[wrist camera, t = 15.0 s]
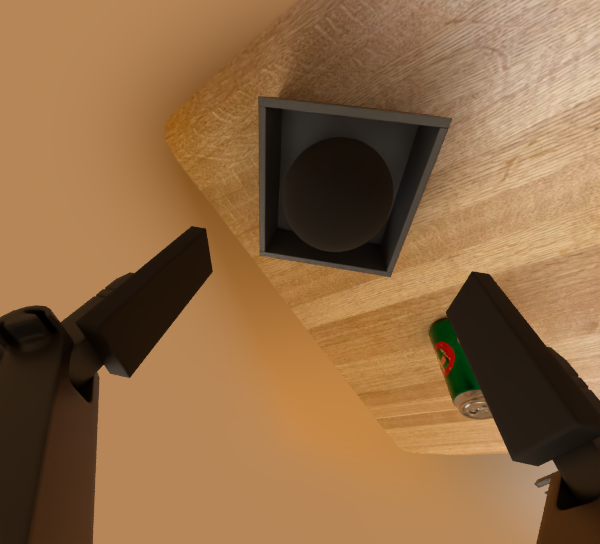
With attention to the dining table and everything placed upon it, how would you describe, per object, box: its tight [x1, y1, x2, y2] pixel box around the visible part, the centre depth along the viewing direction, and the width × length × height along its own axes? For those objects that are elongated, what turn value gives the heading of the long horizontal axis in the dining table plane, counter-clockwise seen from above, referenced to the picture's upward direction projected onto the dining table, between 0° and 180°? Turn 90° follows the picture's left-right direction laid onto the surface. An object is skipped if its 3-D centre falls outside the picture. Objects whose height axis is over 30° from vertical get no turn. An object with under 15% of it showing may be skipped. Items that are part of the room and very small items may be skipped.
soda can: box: [429, 319, 493, 420], centre depth 32 cm, size 5×5×12 cm
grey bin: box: [258, 96, 452, 277], centre depth 25 cm, size 14×14×6 cm
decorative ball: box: [283, 137, 393, 252], centre depth 23 cm, size 10×10×10 cm
